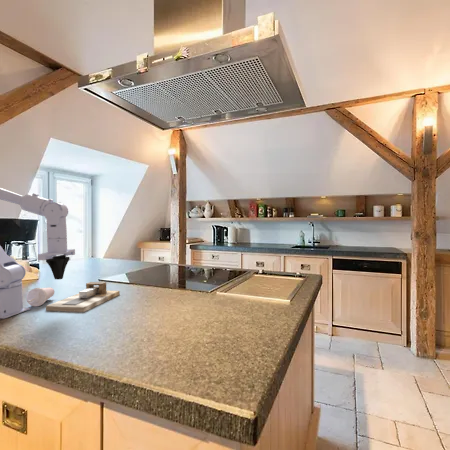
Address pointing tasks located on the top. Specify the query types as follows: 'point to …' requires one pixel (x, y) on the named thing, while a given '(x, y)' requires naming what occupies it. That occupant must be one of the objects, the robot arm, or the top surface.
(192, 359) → the top surface
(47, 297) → the smoothie
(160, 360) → the top surface
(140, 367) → the top surface
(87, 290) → the brushed metal block
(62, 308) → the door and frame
